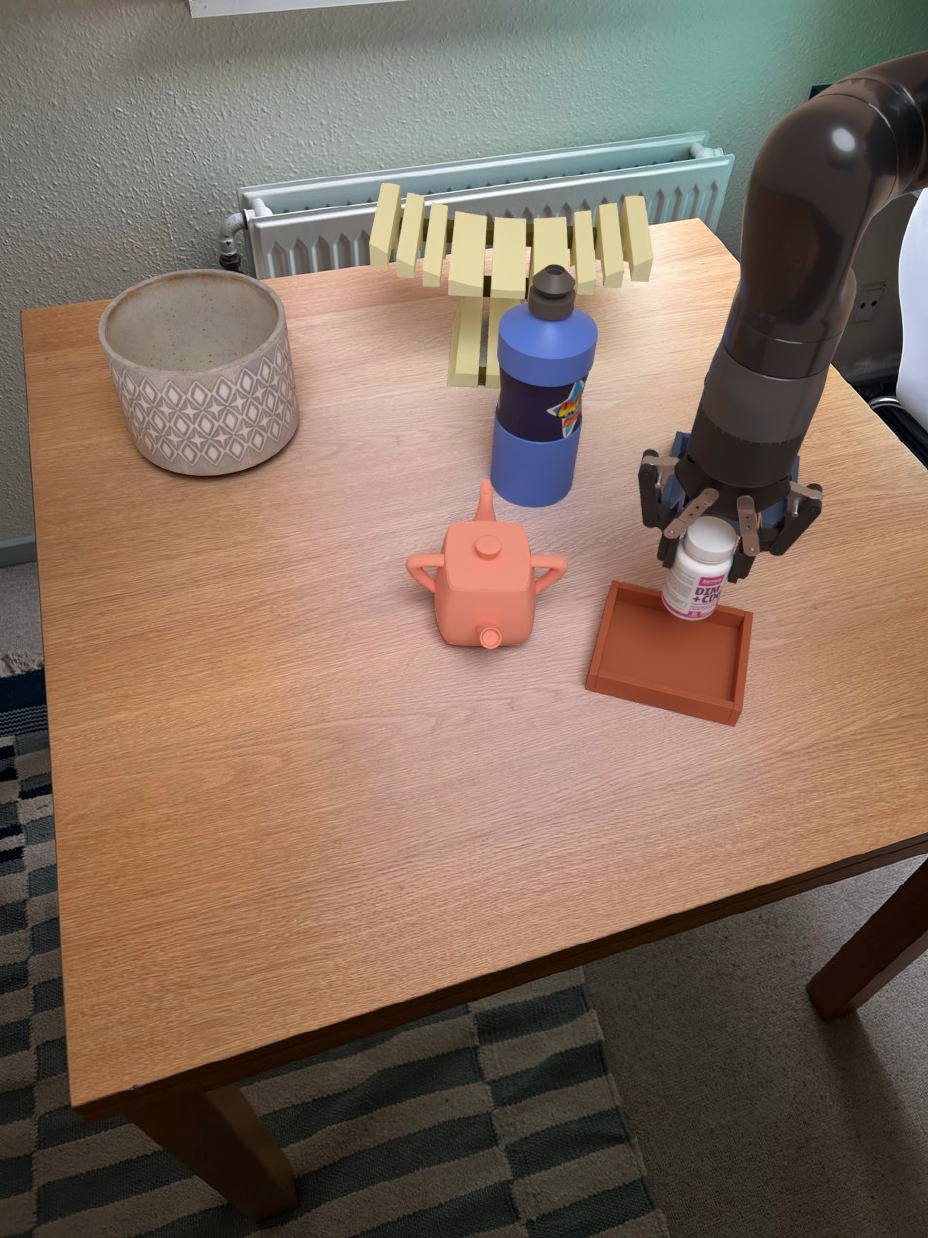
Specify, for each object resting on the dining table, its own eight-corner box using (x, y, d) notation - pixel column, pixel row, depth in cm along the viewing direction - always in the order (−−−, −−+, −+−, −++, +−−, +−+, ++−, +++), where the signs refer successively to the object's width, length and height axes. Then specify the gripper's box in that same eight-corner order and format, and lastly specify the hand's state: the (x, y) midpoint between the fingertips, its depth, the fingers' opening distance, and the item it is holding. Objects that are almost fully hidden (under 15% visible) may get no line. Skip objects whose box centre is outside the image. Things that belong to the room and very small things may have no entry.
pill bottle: (690, 631, 77) (714, 564, 71) (649, 597, 79) (668, 529, 73) (727, 604, 79) (754, 536, 72) (686, 571, 81) (708, 503, 75)
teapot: (579, 630, 88) (593, 559, 80) (485, 695, 83) (490, 626, 75) (482, 545, 94) (487, 471, 86) (390, 600, 89) (386, 527, 82)
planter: (331, 408, 107) (320, 298, 96) (236, 507, 97) (211, 397, 85) (202, 361, 112) (176, 251, 101) (98, 450, 102) (57, 338, 90)
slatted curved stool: (617, 318, 120) (642, 183, 106) (625, 394, 110) (653, 257, 96) (389, 306, 120) (384, 170, 106) (376, 381, 110) (369, 242, 97)
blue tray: (792, 473, 102) (800, 455, 100) (786, 545, 95) (793, 528, 93) (671, 448, 104) (676, 430, 102) (656, 517, 98) (661, 499, 95)
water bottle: (588, 471, 102) (626, 263, 82) (545, 520, 97) (574, 311, 77) (517, 439, 105) (537, 231, 85) (472, 484, 100) (482, 275, 80)
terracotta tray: (746, 628, 88) (753, 611, 86) (734, 727, 81) (742, 711, 79) (607, 596, 90) (612, 579, 88) (584, 689, 84) (588, 673, 81)
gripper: (644, 415, 61) (606, 581, 75) (864, 459, 59) (784, 622, 73) (661, 351, 66) (622, 519, 79) (865, 390, 64) (790, 555, 77)
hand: (700, 567), depth 76 cm, fingers closed on pill bottle, 4 cm apart
